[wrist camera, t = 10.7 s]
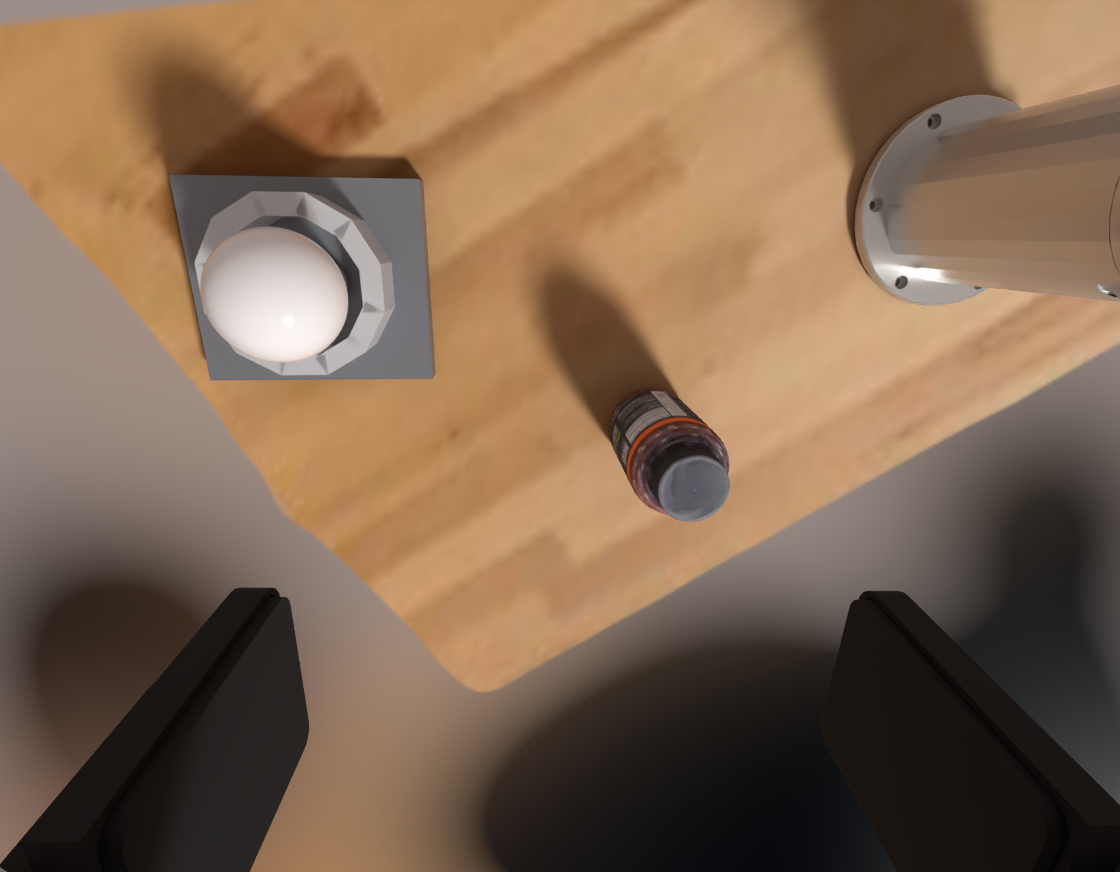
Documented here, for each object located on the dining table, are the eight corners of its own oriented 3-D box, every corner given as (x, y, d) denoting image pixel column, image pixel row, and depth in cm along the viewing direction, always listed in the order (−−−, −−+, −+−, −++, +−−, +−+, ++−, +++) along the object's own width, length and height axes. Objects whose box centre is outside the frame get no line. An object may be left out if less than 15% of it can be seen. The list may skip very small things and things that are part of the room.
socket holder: (422, 181, 34) (410, 173, 30) (435, 373, 38) (425, 390, 34) (183, 177, 33) (135, 168, 29) (221, 375, 37) (184, 392, 33)
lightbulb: (271, 220, 33) (160, 217, 23) (381, 233, 34) (323, 235, 24) (277, 328, 35) (179, 369, 25) (381, 338, 36) (327, 382, 26)
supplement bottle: (698, 444, 42) (761, 516, 31) (624, 475, 42) (661, 556, 32) (672, 372, 40) (731, 422, 29) (595, 405, 40) (624, 466, 30)
